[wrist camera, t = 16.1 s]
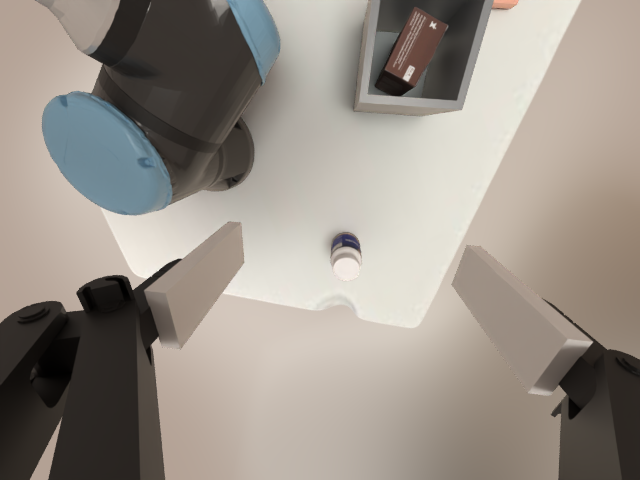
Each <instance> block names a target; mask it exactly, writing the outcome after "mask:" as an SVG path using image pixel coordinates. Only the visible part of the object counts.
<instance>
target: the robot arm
mask: <svg viewBox="0 0 640 480" xmlns="http://www.w3.org/2000/svg"><path fill="white" fill-rule="evenodd" d="M35 1H37V2H39V3H40V4H42V5H44V6H46V7H47V8H48V9H49V10H50V11H51V12H52V13H53V14H54V15H55V16H56V17H57V18H58V20H59V21H60V23H61V24H62V26H63V27H64V29H65V30H66V32H67V33H68V35H69V37H70V38H71V39H72V41H73V43H74V44H75V46H76V47H77V49H79V50H80V51H81V52H83V53H84V54H86V55H88V56H90V57H92V58H94V59H95V60H97V61H99V62H101V63H103V65H102V67H101V70H100V73H99V76H98V78H97V81H96V83H95V86H94V89H93V91H92V93H86V92H80V91H74V92H71V93H69V94H67V95H59V96H56V97H55V98H53V99H52V100H51V101H50V102H49V103H48V104H47V106H46V107H45V109H44V112H43V117H42V131H43V136H44V140H45V143H46V146H47V149H48V151H49V152H50V155H51V157H52V159H53V160H54V162H55V163H56V164H57V166H58V167H59V169H60V171H61V173H62V174H63V175H64V177H65V178H66V179H67V180H68V181H69V182H70V183H71V184H72V186H74V188H76V189H77V190H78V191H79V192H80V193H81V194H82V195H84V196H85V197H86V198H87V199H89V200H90V201H92V202H93V203H95V204H97V205H98V206H100V207H102V208H104V209H107V210H109V211H112V212H114V213H118V214H123V215H142V214H146V213H149V212H153V211H158V210H161V209H163V208H166V207H167V206H168V205H170V204H172V203H174V202H177V201H179V200H181V199H183V198H185V197H188V196H190V195H192V194H194V193H196V192H199V191H201V190H207V191H224V190H228V189H231V188H233V187H235V186H237V185H238V184H240V183H241V182H242V181H244V180H245V178H246V177H247V176H248V174H249V173H250V171H251V168H252V166H253V161H254V145H253V140H252V137H251V134H250V132H249V130H248V128H247V126H246V124H245V123H244V121H243V120H242V119H241V117H240V116H241V114H242V113H243V111H244V110H245V108H246V107H247V105H248V104H249V102H250V101H251V99H252V98H253V96H254V94H255V93H256V91H257V90H258V88H259V87H260V85H261V86H263V85H264V83H265V80H266V76H267V74H268V73H269V71H270V69H271V67H272V66H273V64H274V62H275V61H276V59H277V57H278V55H279V52H280V37H279V32H278V29H277V27H276V24H275V22H274V20H273V18H272V16H271V14H270V12H269V10H268V8H267V6H266V5H265V3H264V1H263V0H35ZM243 264H244V253H243V240H242V228H241V223H238V222H227V223H226V224H225V225H224V226H223V227H221V228H220V229H219V230H218V231H216V232H215V233H214V234H213V235H211V236H210V237H209V238H208V239H207V240H205V241H204V242H203V243H202V244H200V245H199V246H198V247H197V248H196V249H194V250H193V251H192V252H191V253H189V254H188V255H187V256H186V257H185V258H183V259H177V260H174V261H172V262H170V263H168V264H166V265H165V266H164V267H162V268H161V269H160V270H159V271H157V272H156V273H155V274H153V275H152V277H149V278H148V279H147V280H146V281H144V282H143V283H142V284H140V285H139V286H138V287H137V288H135V289H134V290H132V288H131V285H130V282H129V279H128V278H127V277H125V276H122V275H113V276H106V277H102V278H98V279H95V280H93V281H91V282H89V283H86V284H85V285H84V286H82V287H81V288H79V290H78V291H77V296H78V298H79V300H80V302H81V304H82V306H83V309H84V310H83V311H73V312H66V311H65V309H64V307H63V305H62V304H61V302H57V301H46V302H41V303H36V304H32V305H30V306H26V307H24V308H22V309H20V310H19V311H16V312H14V313H12V314H11V315H10V316H8V317H7V318H6V319H4V321H2V322H1V323H0V480H30V478H31V476H32V474H33V472H34V470H35V468H36V466H37V464H38V462H39V460H40V458H41V457H42V454H43V453H44V451H45V449H46V447H47V445H48V443H49V441H50V439H51V437H52V435H53V433H54V431H55V429H56V427H57V425H58V424H59V422H60V420H61V418H62V421H61V426H60V430H59V434H58V439H57V443H56V448H55V452H54V457H53V461H52V466H51V470H50V474H49V479H48V480H165V474H164V463H163V452H162V441H161V431H160V420H159V409H158V399H157V388H156V377H155V367H154V356H153V349H152V346H151V344H152V343H153V342H154V341H155V340H156V339H157V337H159V340H160V343H161V346H162V347H164V348H172V349H180V350H181V348H182V347H183V346H184V344H185V343H186V342H187V340H188V339H189V337H190V336H191V335H192V333H193V332H194V331H195V329H196V328H197V326H198V325H199V324H200V322H201V321H202V320H203V318H204V317H205V316H206V314H207V313H208V312H209V310H210V309H211V307H212V306H213V305H214V303H215V302H216V301H217V299H218V298H219V296H220V295H221V294H222V292H223V291H224V290H225V288H226V287H227V286H228V284H229V283H230V281H231V280H232V279H233V277H234V276H235V275H236V273H237V272H238V270H239V269H240V268H241V266H242V265H243ZM452 286H453V287H454V289H455V290H456V292H457V293H458V294H459V296H460V297H461V299H462V300H463V301H464V303H465V304H466V306H467V307H468V309H469V310H470V311H471V313H472V314H473V316H474V317H475V318H476V320H477V321H478V323H479V324H480V326H481V327H482V328H483V330H484V331H485V333H486V334H487V336H488V337H489V338H490V340H491V341H492V343H493V344H494V346H495V347H496V348H497V350H498V351H499V353H500V354H501V356H502V357H503V358H504V360H505V361H506V363H507V364H508V365H509V367H510V368H511V370H512V371H513V372H514V374H515V375H516V377H517V378H518V380H519V381H520V383H521V384H522V385H523V387H524V388H525V389H526V391H527V392H528V393H531V394H540V395H548V396H550V395H551V394H552V392H553V391H554V390H555V389H556V388H557V386H558V385H560V387H561V388H562V389H563V390H564V391H565V392H566V394H567V395H566V396H565V397H564V399H563V400H562V401H561V402H560V403H559V404H558V406H557V407H556V408H555V409H554V410H553V412H552V414H551V415H552V416H554V417H556V415H557V414H561V431H560V455H559V456H560V457H559V479H558V480H640V360H639V359H637V358H635V357H633V356H631V355H629V354H626V353H623V352H620V351H616V350H611V349H610V350H607V349H606V348H604V347H603V346H602V345H601V344H600V343H598V342H597V341H596V340H595V339H593V338H592V337H591V336H590V335H589V334H588V333H586V332H585V331H584V330H583V329H582V328H580V327H579V326H578V325H577V324H576V323H573V321H572V320H571V319H569V318H568V317H567V316H566V315H564V314H563V313H562V312H561V311H560V310H559V309H557V308H556V307H555V306H554V305H553V304H551V303H549V302H548V301H546V300H544V299H543V298H541V297H540V296H538V295H537V294H536V293H535V292H534V291H532V290H531V289H530V288H529V287H528V286H527V285H525V284H524V283H523V282H522V281H521V280H520V279H518V278H517V277H516V276H515V275H513V274H512V273H511V272H510V271H509V270H508V269H507V268H505V267H504V266H503V265H502V264H501V263H499V262H498V261H497V260H496V259H495V258H494V257H492V256H491V255H490V254H489V253H488V252H487V251H485V250H484V249H483V248H482V247H481V246H471V245H467V246H466V248H465V251H464V254H463V256H462V259H461V261H460V264H459V267H458V269H457V272H456V274H455V277H454V280H453V283H452Z"/></svg>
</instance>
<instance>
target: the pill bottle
mask: <svg viewBox="0 0 640 480" xmlns="http://www.w3.org/2000/svg"><path fill="white" fill-rule="evenodd" d="M361 264H362V257H361V250H360V244H359V240H358V239H357V237H356V236H354V235H353V234H350V233H341V234H339V235H337V236H336V237H335V238H334V240H333V242H332V249H331V265H332V267H333V273H334V275H335V276H336V277H337V278H338V279H340V280H343V281H351V280H353V279H355V278H356V277H357V276H358V275H359V273H360V267H361Z"/></svg>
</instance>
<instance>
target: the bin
mask: <svg viewBox="0 0 640 480" xmlns="http://www.w3.org/2000/svg"><path fill="white" fill-rule="evenodd" d="M493 2H494V0H368V5H367V9H366V14H365V19H364V25H363V33H362V42H361V51H360V59H359V68H358V76H357V85H356V94H355V102H354V111H359V112H373V113H386V114H399V115H413V116H426V115H433V114H439V113H445V112H452V111H458V110H462V108H463V105H464V101H465V98H466V95H467V91H468V88H469V84H470V81H471V77H472V74H473V71H474V67H475V64H476V60H477V57H478V53H479V50H480V46H481V43H482V40H483V36H484V33H485V29H486V26H487V22H488V19H489V16H490V12H491V9H492V5H493ZM414 7H417V8H419V9H421V10H423V11H424V12H426V13H428V14H429V15H431V16H433V17H434V18H436V19H438V20H440V21H442V22H443V23H445V24H447V25H448V28H447V30H446V31H445V33H444V35H443V37H442V39H441V41H440V43H439V44H438V46H437V48H436V50H435V53H434V55H433V57H432V59H431V61H430V62H429V64H428V69H427V73H426V78H425V83H424V87H423V92H422V96H421V98H411V97H397V96H383V95H369V94H368V87H369V80H370V72H371V65H372V57H373V50H374V43H375V35H376V31H383V32H400V33H401V31H402V29H403V27H404V25H405V23H406V22H407V20H408V18H409V16H410V14H411V12H412V10H413V8H414Z"/></svg>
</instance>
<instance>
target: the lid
mask: <svg viewBox="0 0 640 480" xmlns="http://www.w3.org/2000/svg"><path fill="white" fill-rule="evenodd" d="M517 3H518V0H494V2H493V5H492V7H493V8H509V9H511V8H513V7H514V6H515V5H517Z"/></svg>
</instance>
